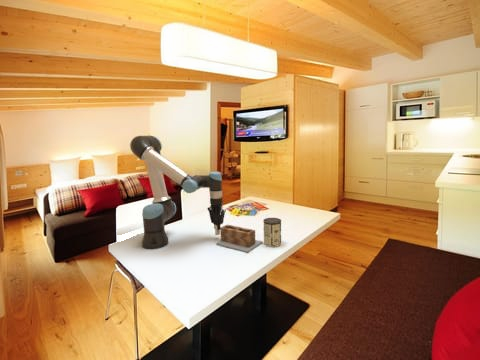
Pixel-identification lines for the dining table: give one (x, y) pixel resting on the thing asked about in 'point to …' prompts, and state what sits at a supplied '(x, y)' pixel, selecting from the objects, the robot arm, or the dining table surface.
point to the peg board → (238, 247)
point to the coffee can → (272, 232)
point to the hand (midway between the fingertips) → (217, 234)
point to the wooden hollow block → (237, 235)
